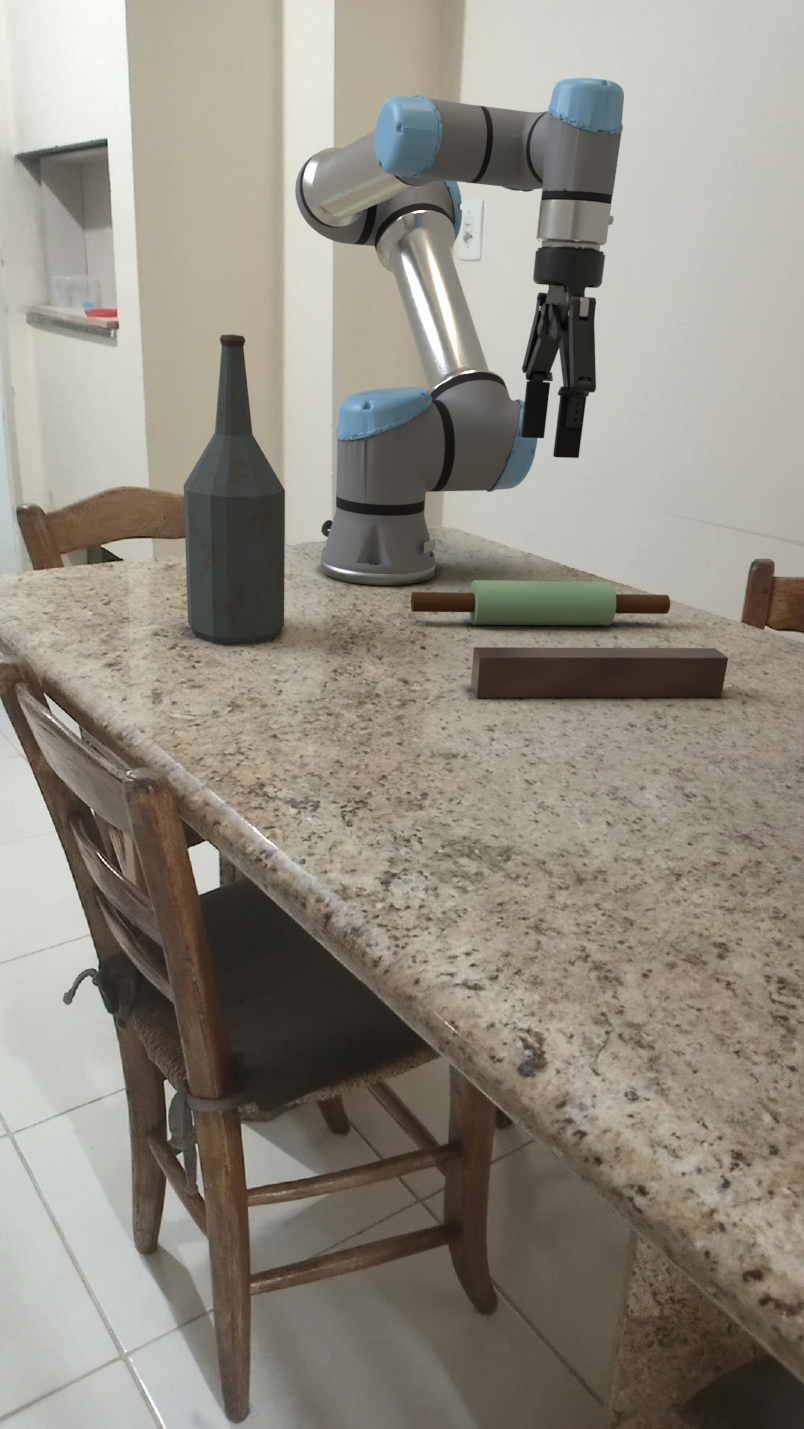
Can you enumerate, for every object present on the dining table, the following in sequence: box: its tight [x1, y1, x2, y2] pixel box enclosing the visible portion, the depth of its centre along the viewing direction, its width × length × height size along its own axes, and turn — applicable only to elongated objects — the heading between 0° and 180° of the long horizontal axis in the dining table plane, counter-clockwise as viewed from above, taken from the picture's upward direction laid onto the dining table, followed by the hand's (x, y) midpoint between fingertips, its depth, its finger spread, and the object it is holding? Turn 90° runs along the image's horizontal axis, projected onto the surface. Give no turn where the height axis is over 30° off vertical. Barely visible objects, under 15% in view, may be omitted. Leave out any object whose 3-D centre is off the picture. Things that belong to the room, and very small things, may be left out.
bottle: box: [183, 334, 286, 646], centre depth 104 cm, size 10×10×30 cm
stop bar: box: [470, 646, 729, 699], centre depth 97 cm, size 24×3×4 cm, turn 98°
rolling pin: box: [410, 579, 671, 627], centre depth 117 cm, size 30×5×5 cm
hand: (548, 447), depth 119 cm, fingers open, 13 cm apart
